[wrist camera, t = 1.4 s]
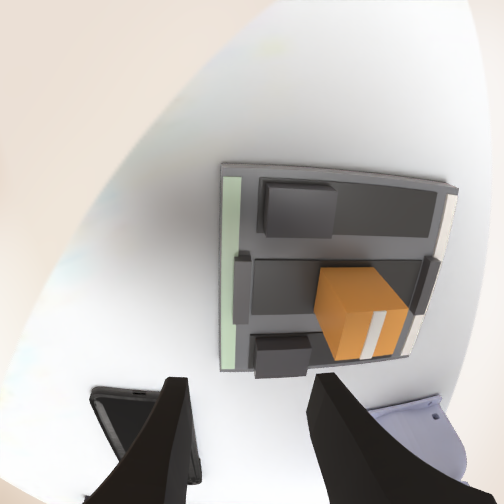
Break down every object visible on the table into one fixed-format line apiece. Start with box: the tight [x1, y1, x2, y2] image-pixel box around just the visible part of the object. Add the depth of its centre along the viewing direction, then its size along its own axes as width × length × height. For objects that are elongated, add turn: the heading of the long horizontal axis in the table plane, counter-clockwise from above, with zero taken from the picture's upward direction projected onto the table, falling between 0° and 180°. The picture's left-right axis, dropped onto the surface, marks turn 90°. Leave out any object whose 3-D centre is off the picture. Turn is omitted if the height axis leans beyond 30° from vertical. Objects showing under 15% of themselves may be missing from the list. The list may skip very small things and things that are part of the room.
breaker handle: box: [314, 267, 409, 361], centre depth 15 cm, size 3×3×4 cm
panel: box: [219, 163, 459, 379], centre depth 17 cm, size 13×12×2 cm
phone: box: [89, 387, 202, 485], centre depth 24 cm, size 8×1×15 cm
